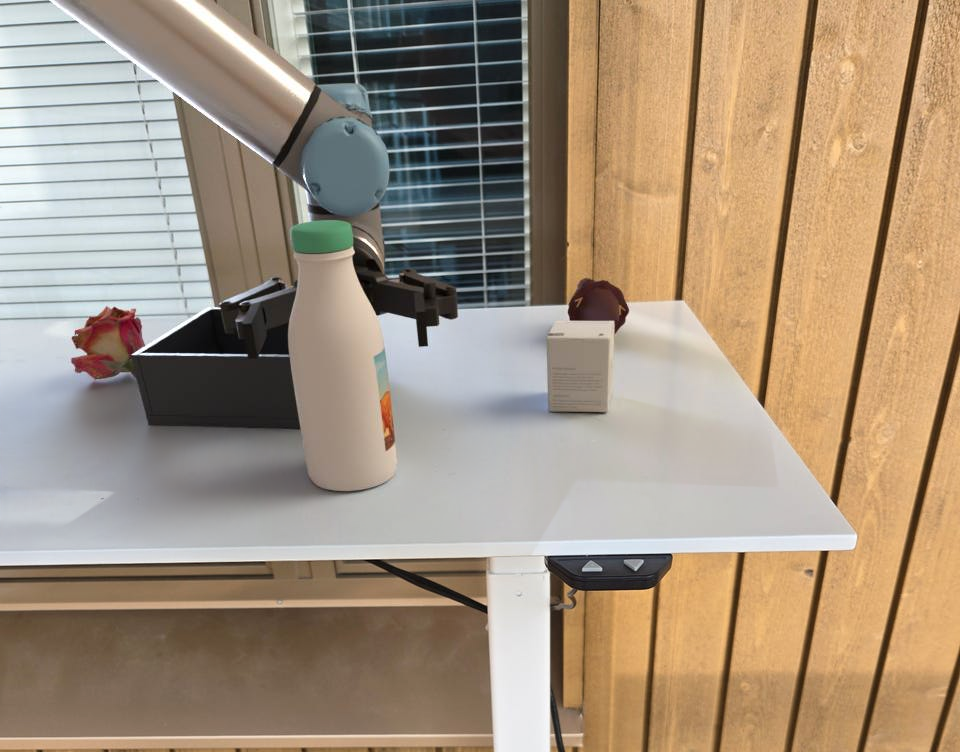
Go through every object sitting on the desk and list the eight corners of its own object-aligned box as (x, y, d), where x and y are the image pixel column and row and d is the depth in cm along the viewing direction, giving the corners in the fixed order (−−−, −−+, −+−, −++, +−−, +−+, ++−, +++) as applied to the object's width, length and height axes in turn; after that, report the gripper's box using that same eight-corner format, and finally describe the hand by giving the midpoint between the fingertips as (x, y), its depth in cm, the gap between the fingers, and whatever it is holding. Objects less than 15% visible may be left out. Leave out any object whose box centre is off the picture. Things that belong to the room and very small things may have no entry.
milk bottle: (375, 498, 73) (344, 235, 61) (292, 488, 75) (247, 233, 64) (411, 461, 79) (388, 215, 67) (333, 453, 81) (298, 214, 70)
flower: (184, 352, 103) (139, 293, 102) (143, 360, 95) (93, 295, 93) (129, 400, 107) (85, 343, 105) (85, 411, 99) (36, 350, 97)
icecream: (655, 294, 98) (614, 277, 111) (592, 282, 96) (558, 266, 109) (638, 358, 101) (600, 334, 114) (577, 347, 99) (545, 324, 112)
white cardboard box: (613, 393, 91) (616, 319, 87) (608, 414, 86) (610, 337, 82) (554, 391, 92) (554, 318, 88) (546, 412, 87) (545, 336, 83)
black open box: (148, 424, 89) (129, 355, 85) (220, 369, 103) (207, 307, 99) (313, 429, 86) (302, 357, 82) (364, 371, 100) (357, 307, 96)
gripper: (473, 306, 90) (494, 371, 73) (226, 323, 89) (188, 393, 71) (469, 226, 86) (491, 274, 68) (210, 242, 85) (165, 296, 67)
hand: (336, 335), depth 70 cm, fingers open, 13 cm apart
